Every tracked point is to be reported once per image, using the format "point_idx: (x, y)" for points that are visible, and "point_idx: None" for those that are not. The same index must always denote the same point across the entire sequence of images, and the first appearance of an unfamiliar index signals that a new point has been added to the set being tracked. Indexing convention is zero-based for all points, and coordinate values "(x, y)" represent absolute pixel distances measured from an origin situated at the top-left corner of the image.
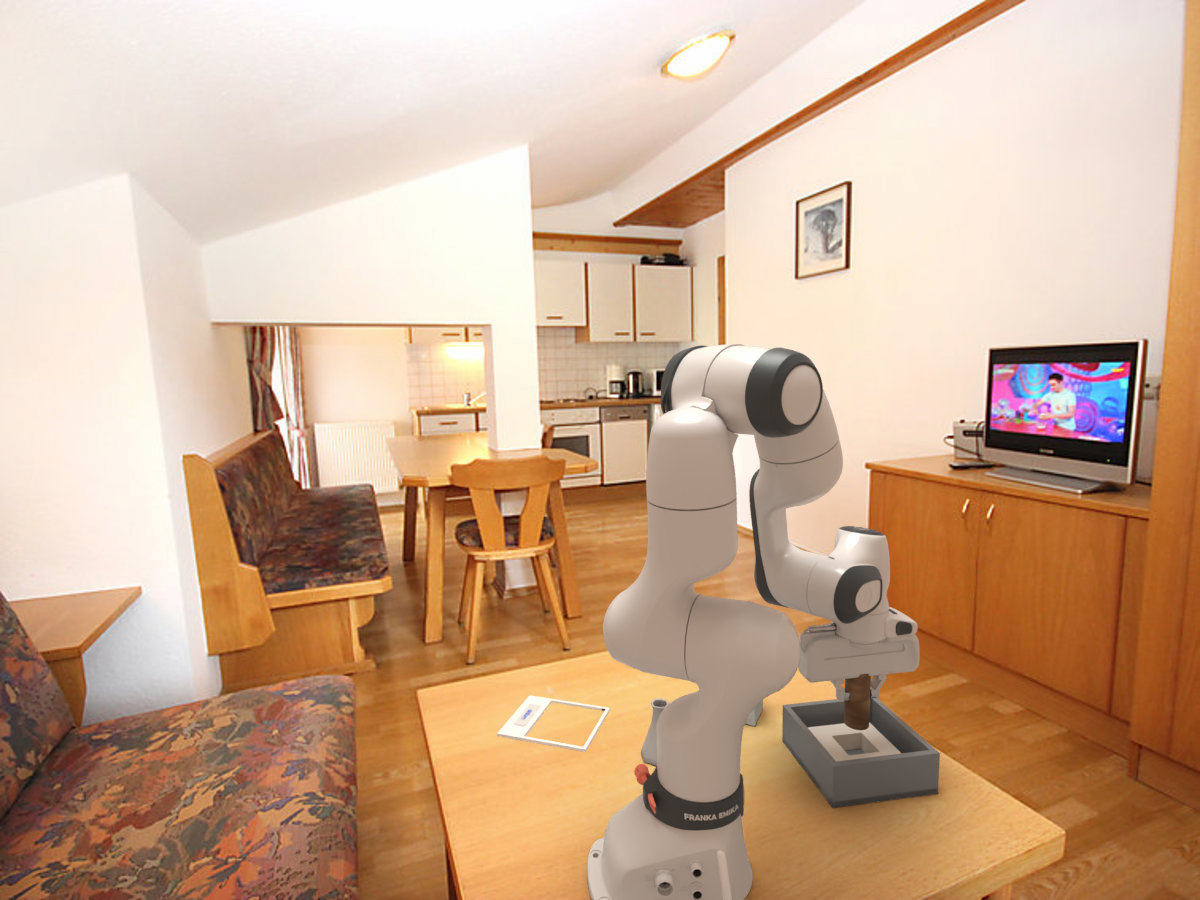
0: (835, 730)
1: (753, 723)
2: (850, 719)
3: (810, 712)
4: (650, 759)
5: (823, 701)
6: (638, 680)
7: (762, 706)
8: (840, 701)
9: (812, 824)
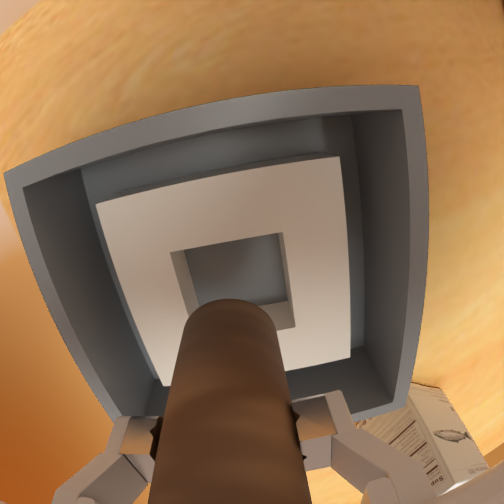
0: None
1: None
2: (270, 334)
3: None
4: None
5: None
6: (477, 434)
7: (361, 427)
8: (340, 393)
9: (413, 60)
